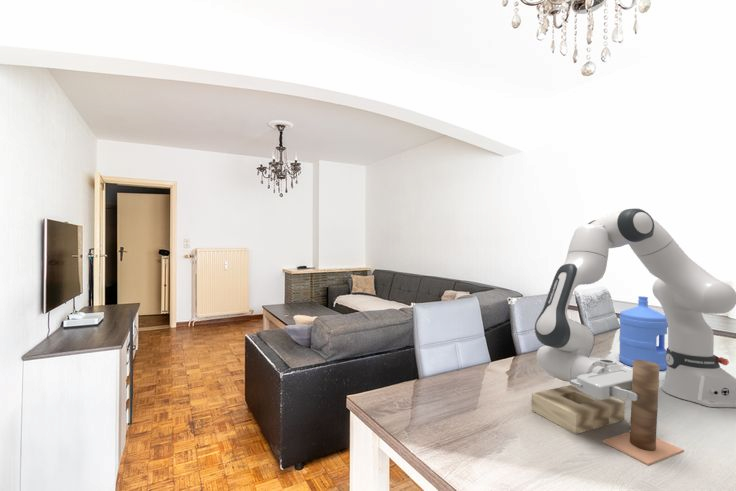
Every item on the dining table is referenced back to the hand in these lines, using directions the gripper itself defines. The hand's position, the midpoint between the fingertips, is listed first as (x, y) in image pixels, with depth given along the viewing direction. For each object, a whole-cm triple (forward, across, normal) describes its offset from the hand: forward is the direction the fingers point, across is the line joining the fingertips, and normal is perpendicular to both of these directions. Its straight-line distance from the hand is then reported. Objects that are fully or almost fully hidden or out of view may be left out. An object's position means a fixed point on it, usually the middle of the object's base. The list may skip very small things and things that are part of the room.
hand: (647, 395), depth 84 cm
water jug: (-38, +66, +13) cm, 77 cm away
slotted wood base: (-18, 0, +13) cm, 22 cm away
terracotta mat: (-1, 0, +13) cm, 13 cm away
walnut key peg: (-1, 0, +12) cm, 13 cm away
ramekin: (-36, +37, +13) cm, 53 cm away
